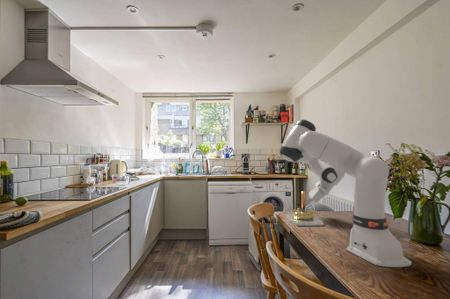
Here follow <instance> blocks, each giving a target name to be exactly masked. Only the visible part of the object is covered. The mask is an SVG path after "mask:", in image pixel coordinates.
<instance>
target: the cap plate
mask: <svg viewBox="0 0 450 299" xmlns="http://www.w3.org/2000/svg"><path fill="white" fill-rule="evenodd" d="M285 215H286V216H285V217H286V218H287V219H288V221H289V220H290V222H291V223H292V224H294V225H295V226H297V227H308V226H309V227H310V226H311V227H312V226H315V227H317V226H318V227H321V226H324V221H322V220H321V219H319V218H318V217H317V216H314V219H311V220H303V219H297V218H294V217H293V213H285Z"/></svg>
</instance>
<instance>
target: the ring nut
mask: <svg viewBox="0 0 450 299" xmlns="http://www.w3.org/2000/svg"><path fill="white" fill-rule="evenodd" d="M300 192H301V196H300V197H301V202H300V203H301V207H297V209H295V208H293V209H292V214H293V217H294V218H297V219H303V220H311V219H314V217H315V210H313V209H310V208H306V202H305V201H306V191H304V190H303V191H300Z"/></svg>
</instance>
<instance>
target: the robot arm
mask: <svg viewBox="0 0 450 299" xmlns="http://www.w3.org/2000/svg"><path fill="white" fill-rule="evenodd" d="M293 125H294V126H293V127H292V128H291V129H290V131H289V133H288V134H287V136H286V137H285V139H284V141H283V143H282V145H281V147H280V150H279V154H280V156H281V157H282V159H284V160H285V161H287V162H291V163H296V162H299V163H301V164H306V166H307V168H308V170H310V171H311V172H312V173H314V174H315V175H316V176H317V177H318V178H319V180H318V181H317V182H316V183H315V184H314V185H315V187H314V188H313V189H311V190H310V191H309V193H308V198H307V199H305V205H309V204H311V202H314V203H318V202H319V201H321V199H323V198H324V197H325V196H328V195H329V193H330V192H331V190H333V188H334V187H335V186H337V185H338V184H339V183H340V182H341V181H342V180H343V178H344V177H345V175H349V176H350V177H352V178H355V185H354V193H353V214H352V223H353V225H352V228H351V229H350V233H349V234H350V235H349V244H348V246H347V247H346V251H348V252H350V253H352V254H353V255H355V256H357V257H359V258H361V259H363V260H365V261H368V262H369V263H371V264H373V265H375V266H379V267H385V268H405V267H410V266H412V264H413V263H412V260H410V259H408V258H407V257H405V256H404V252H403V247H402V244H401V242H400V240H397V238H396V237H395V236H394V235H393V233H392V232H391V231H390V229H389V228H390V227H389V226H391V225H390V222H388V221H387V218H386V217H385V216H386V215H385V214H386V210H385V209H386V206H385V204H386V203H385V202H386V201H385V200H386V198H385V197H386V191H387V186H388V178H389V175H390V168H389V166H388V164H387V163H386V162H385V161H384V160H383V159H381V158H379V157H377V156H369V155H367V154H364V153H363V152H360V151H359V150H357V149H355V148H354V147H352V146H350V145H348V144H345V143H344V142H341V141H339V140H337V139H335V138H333V137H331V136H330V135H326V134H323V133H321V132H318V131H316V130H317V128H316V126H315V124H314V123H312V122H311V121H309V120H307V119H299V120H297V121H296V122H295V123H294V124H293Z"/></svg>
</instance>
